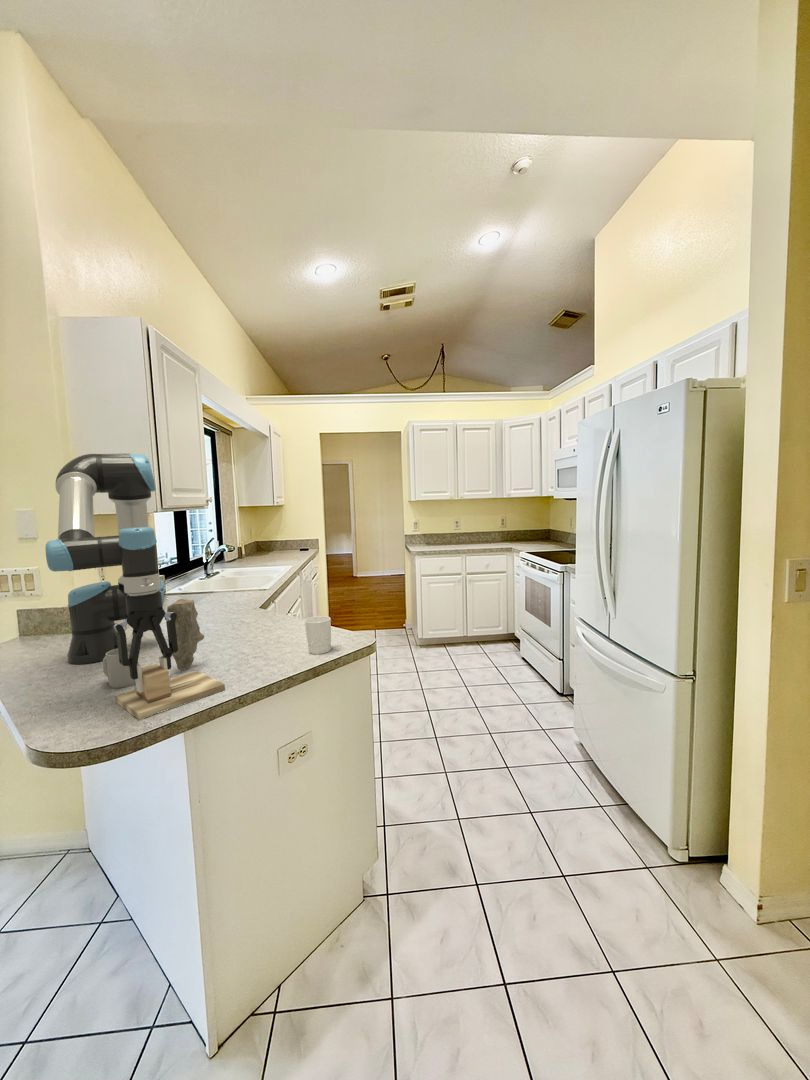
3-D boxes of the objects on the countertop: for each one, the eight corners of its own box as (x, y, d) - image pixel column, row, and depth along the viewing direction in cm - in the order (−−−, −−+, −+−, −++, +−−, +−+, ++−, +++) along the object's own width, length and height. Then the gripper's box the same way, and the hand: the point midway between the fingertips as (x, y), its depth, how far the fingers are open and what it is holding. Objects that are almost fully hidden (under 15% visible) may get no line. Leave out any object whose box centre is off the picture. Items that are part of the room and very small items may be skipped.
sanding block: (136, 693, 114) (133, 670, 114) (159, 686, 118) (156, 663, 117) (148, 702, 109) (145, 677, 108) (171, 694, 112) (169, 670, 112)
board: (115, 701, 114) (114, 695, 114) (197, 675, 129) (196, 670, 129) (139, 720, 104) (138, 713, 103) (225, 689, 118) (224, 683, 118)
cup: (125, 689, 122) (121, 656, 121) (94, 687, 124) (90, 654, 124) (146, 678, 129) (143, 647, 128) (116, 676, 131) (113, 646, 131)
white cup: (337, 648, 146) (335, 617, 146) (320, 656, 140) (318, 623, 139) (319, 645, 151) (317, 615, 150) (301, 652, 144) (299, 621, 143)
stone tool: (174, 677, 128) (167, 606, 127) (162, 674, 131) (155, 604, 129) (212, 662, 139) (206, 596, 137) (200, 660, 142) (194, 595, 140)
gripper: (104, 601, 102) (116, 704, 104) (188, 587, 115) (197, 678, 117) (94, 598, 107) (105, 696, 109) (175, 584, 120) (184, 672, 122)
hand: (152, 686), depth 113 cm, fingers closed on sanding block, 5 cm apart
